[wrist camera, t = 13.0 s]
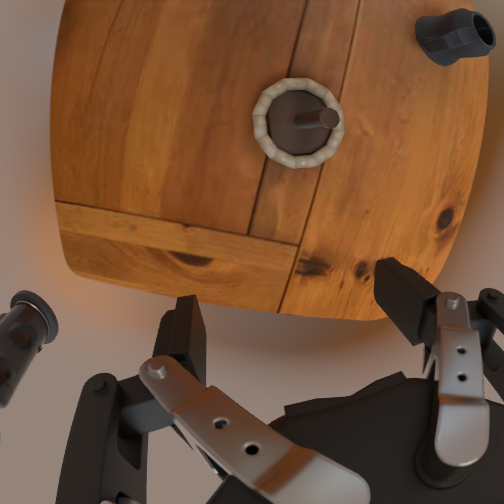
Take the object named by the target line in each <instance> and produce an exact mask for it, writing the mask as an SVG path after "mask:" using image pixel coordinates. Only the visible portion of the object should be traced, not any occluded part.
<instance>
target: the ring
mask: <svg viewBox="0 0 504 504" xmlns="http://www.w3.org/2000/svg"><path fill="white" fill-rule="evenodd" d="M287 90H306V91H308V92H310V93H312V94H314V95H316V96H318V97H320V98H321V99H322V100H323V102H324V103H325V105H326V106H327V108H333V109H335V110H336V111H337V112H338V114H339V117H340V122H339V124H338V126H337V127H335V128H333V129H332V132H331V134H330V137H329V139H328V141H327V143H326V145H325V146H324V147H322V148H321V149H319V150H318V151H316V152H315V153H314V154H312V155H302V156H293V155H291V154H289V153H287V152H285V151H282V150H280V149H278V148H277V146H276V145H275V143H274V142H273V141H272V139H271V138H270V137H269V135H268V134H267V126H266V117H265V115H266V113H267V111H268V109H269V107H270V105H271V102H272V100H273V99H275V98H276V97H278V96H279V95H281V94H282V93H284V92H286V91H287ZM252 121H253V129H254V137H255V140H256V141H257V142H258V144H259V145H260V146H261V148H262V149H263V150H264V152H265V153H266V154H267V156H268V157H269V158H270V159H272V160H274V161H276V162H278V163H281V164H283V165H285V166H287V167H289V168H292V169H297V168H308V167H317V166H318V165H320V164H321V163H323V162H324V161H326V160H327V159H328V158H330V157H331V156H333V155H334V154H335V153H336V151H337V149H338V147H339V145H340V143H341V140H342V138H343V136H344V134H345V127H344V116H343V109H342V107H341V106H340V104H339V103H338V101H337V100H336V98H335V97H334V95H333V94H332V92H331V91H330V90H329V89H328V88H326V87H324V86H322V85H320V84H318V83H317V82H315V81H313V80H311V79H309V78H283V79H281V80H279V81H278V82H276V83H275V84H273V85H271V86H270V87H268V88H267V89H265V90H264V91H262V93H261V95H260V97H259V99H258V101H257V103H256V105H255V108H254V110H253V112H252Z"/></svg>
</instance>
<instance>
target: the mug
mask: <svg viewBox="0 0 504 504" xmlns="http://www.w3.org/2000/svg"><path fill="white" fill-rule="evenodd" d="M415 32H416V36H417V40H418V42H419V44H420V46H421V48H422V49H423V51H424V52H425V53H426V55H427V56H428V57H429V58H430V59H431V60H432V61H434V62H435V63H437V64H439V65H442V66H448V65H451V64H453V63H455V62H456V61H457V60H458V59H459V58H465V57H479V56H486V55H487V54H488V53H489V52H490V50H491V49H493V48H494V47H495V46H496V37H495V33H494V31H493V29H492V27H491V25H490V23H489V22H488V20H487V19H486V18H485V17H484V16H483V15H482V14H480V13H478V12H475V11H470V10H467V9H464V8H460V9H457V10H454V11H451V12H448V13H447V14H444V15H441V16H439V17H437V16H426V17H421V18H419V19H418V20H417V22H416V25H415Z"/></svg>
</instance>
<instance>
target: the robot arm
mask: <svg viewBox="0 0 504 504" xmlns="http://www.w3.org/2000/svg"><path fill="white" fill-rule="evenodd" d="M374 297H375V300H376V302H377V304H378V305H379V306H380V307H381V308H382V309H383V311H384V312H385V313H386V314H387V315H388V316H389V318H390V319H392V321H393V322H394V324H395V325H396V326H397V327H398V328H399V330H400V331H401V332H402V333H403V334H404V336H405V337H406V338H407V339H408V340H409V342H410V343H411V344H412V345H413V346H415V345H418V344H420V343H424V344H425V346H424V349H423V356H422V364H421V373H420V378H406V377H405V376H404V374H403V373H402V371H400V372H398V373H395V374H393V375H390V376H387V377H384V378H382V379H379V380H377V381H374V382H373V383H371V384H370V385H368V386H366V387H365V388H363V389H362V390H360V391H358V392H356V393H355V394H353V395H351V396H346V397H334V398H318V399H312V400H309V401H304V402H300V403H296V404H291V405H286V406H284V411H285V415H284V416H282V417H279V418H278V419H276V420H274V421H272V422H271V423H269V424H268V425H266V424H265V423H263V422H262V421H261V420H259V419H258V418H256V417H255V416H254V415H252V414H251V413H249V412H248V411H247V410H245V409H244V408H243V407H241V406H240V405H239V404H237V403H236V402H235V401H234V400H232V399H231V398H229V397H228V396H227V395H226V394H225V393H223V392H222V391H220V390H219V389H218V388H217V387H215V386H210V387H209V388H207V387H206V330H205V325H204V322H203V318H202V315H201V311H200V308H199V304H198V300H197V297H196V295H189V296H183V297H178V298H177V303H176V308H175V310H169V311H167V312H166V313H165V315H164V316H163V317H162V318H161V322H160V326H159V330H158V335H157V338H156V342H155V346H154V351H153V355H152V358H150V359H148V360H147V361H146V362H144V363H143V364H142V366H141V367H140V370H139V374H138V375H136V376H133V377H130V378H127V379H124V380H121V381H117V379H116V378H115V376H113V375H112V374H109V373H100V374H97V375H94V376H93V377H91V378H90V379H89V380H87V382H86V383H85V385H84V386H83V389H82V392H81V395H80V399H79V402H78V405H77V408H76V412H75V415H74V419H73V423H72V426H71V430H70V434H69V438H68V442H67V446H66V450H65V454H64V459H63V464H62V469H61V474H60V479H59V485H58V491H57V497H56V503H55V504H146V482H147V451H148V449H147V447H148V433H149V432H151V431H155V430H158V429H161V428H164V427H167V426H170V427H171V428H172V429H173V431H174V432H175V433H176V434H177V435H178V436H179V437H180V439H181V440H182V441H183V442H184V443H185V444H186V445H187V446H188V447H189V448H190V449H191V450H192V451H193V452H194V453H195V454H196V456H198V458H199V459H200V460H201V461H202V462H203V463H204V464H205V466H206V467H207V468H208V469H209V470H210V471H211V472H212V473H213V474H214V475H215V476H216V477H217V478H218V479H220V480H221V481H222V483H221V485H220V486H219V487H218V489H217V490H216V491H215V492H214V494H213V495H212V496H211V498H210V499H209V500H208V501H207V503H206V504H504V405H502V404H500V403H496V402H493V401H490V400H487V399H485V397H484V378H483V374H484V375H485V377H486V378H487V379H488V381H489V382H490V383H491V385H492V386H493V387H494V389H495V390H496V391H497V393H498V394H499V395H500V397H501V398H502V400H503V401H504V351H503V350H502V349H501V348H500V347H499V346H498V345H497V344H496V342H495V341H494V340H493V336H494V334H495V331H496V329H497V328H498V329H499V330H500V331H501V332H502V333H503V335H504V294H503V293H501V292H499V291H498V290H496V289H492V288H485V289H483V290H481V291H480V294H479V298H478V300H476V301H466V300H465V298H464V297H463V296H461V295H460V294H457V293H454V292H443V293H441V292H440V291H439V290H438V289H437V288H435V287H434V286H433V285H432V284H431V283H430V282H428V281H427V280H425V278H423V277H422V276H420V274H418V273H417V272H416V271H415V270H413V269H411V268H409V267H407V266H404V265H402V264H401V263H400V262H398V261H397V260H396V259H395V258H393V257H391V258H386V259H382V260H378V261H377V262H376V266H375V281H374ZM50 331H51V330H50V324H49V321H48V319H47V317H46V316H45V314H44V313H43V312H42V310H41V309H40V308H39V307H38V306H36V305H35V304H34V303H32V302H30V301H28V300H19V301H18V302H17V303H16V304H15V305H14V307H13V308H12V309H11V310H10V311H9V312H8V313H5V314H1V315H0V408H1V409H3V408H6V407H7V406H8V404H9V403H10V401H11V399H12V397H13V395H14V393H15V391H16V389H17V387H18V386H19V384H20V382H21V380H22V378H23V377H24V375H25V373H26V371H27V370H28V368H29V366H30V364H31V363H32V361H33V359H34V358H35V356H36V354H38V353H39V352H40V351H41V349H42V348H41V347H42V345H43V343H44V342H45V340H46V339H47V338H48V337H49V335H50ZM40 348H41V349H40ZM0 439H1V437H0Z"/></svg>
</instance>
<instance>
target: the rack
mask: <svg viewBox="0 0 504 504" xmlns="http://www.w3.org/2000/svg"><path fill="white" fill-rule="evenodd" d="M267 119H268V127H269V135H270V138H271V139H272V141H273V142H274V143H275V145H276V146H277V148H278V149H280V150H282V151H285V152H287V153H289V154H291V155H298V154H309V153H315V152H316V151H318V150H319V149H321V148H322V147H324V146H325V145H326V143H327V141H328V139H329V137H330V134H331V132H332V129H333V128H335V127H337V126H338V124H339V122H340V117H339V114H338V112H337V111H336V110H335V109H333V108H327V106H326V105H325V103H324V102H323V100H322V99H321V98H320V97H318V96H316V95H314V94H312V93H310V92H308V91H306V90H290V91H286V92H284V93H282V94H281V95H279V96H278V97H276V98H275V99H273V100H272V102H271V105H270V107H269V109H268V111H267Z"/></svg>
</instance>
